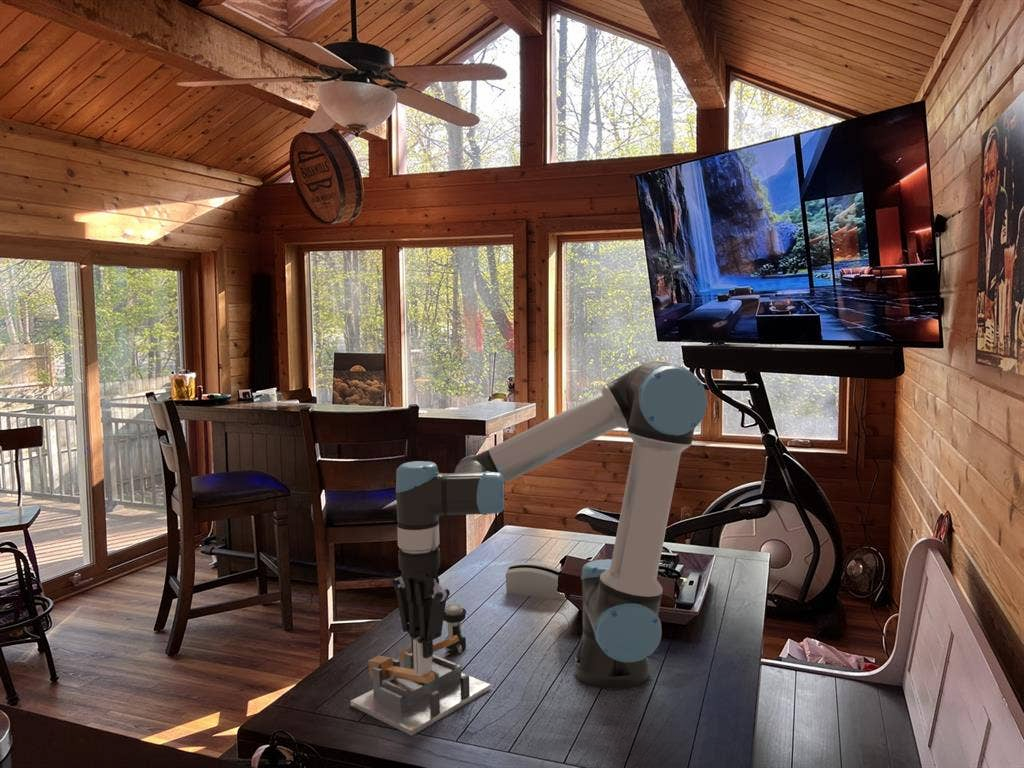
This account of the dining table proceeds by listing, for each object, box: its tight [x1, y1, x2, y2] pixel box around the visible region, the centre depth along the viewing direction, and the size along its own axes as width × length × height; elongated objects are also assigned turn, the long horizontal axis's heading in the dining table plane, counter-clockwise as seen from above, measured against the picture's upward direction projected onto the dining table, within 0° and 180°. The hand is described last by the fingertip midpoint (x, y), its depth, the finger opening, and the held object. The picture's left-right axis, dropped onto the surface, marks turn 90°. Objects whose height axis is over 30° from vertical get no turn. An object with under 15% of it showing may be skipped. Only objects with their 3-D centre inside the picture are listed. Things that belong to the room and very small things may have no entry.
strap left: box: [367, 655, 435, 684], centre depth 145 cm, size 16×3×3 cm, turn 50°
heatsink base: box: [350, 652, 492, 737], centre depth 148 cm, size 17×21×7 cm
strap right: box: [397, 635, 459, 668], centre depth 152 cm, size 16×3×3 cm, turn 49°
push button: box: [442, 603, 467, 657], centre depth 167 cm, size 7×5×10 cm
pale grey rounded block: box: [505, 562, 566, 601], centre depth 200 cm, size 17×5×10 cm, turn 67°
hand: (422, 671), depth 141 cm, fingers closed
